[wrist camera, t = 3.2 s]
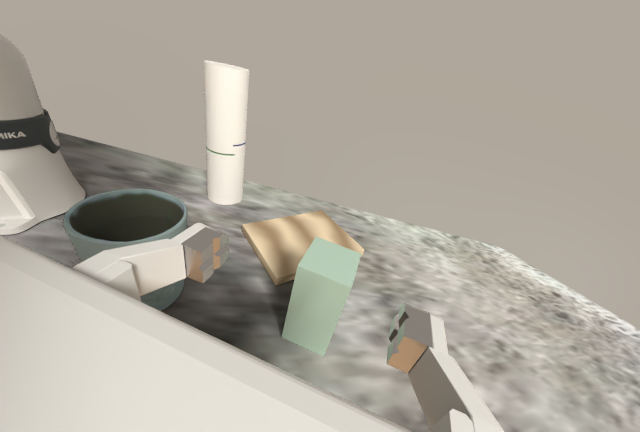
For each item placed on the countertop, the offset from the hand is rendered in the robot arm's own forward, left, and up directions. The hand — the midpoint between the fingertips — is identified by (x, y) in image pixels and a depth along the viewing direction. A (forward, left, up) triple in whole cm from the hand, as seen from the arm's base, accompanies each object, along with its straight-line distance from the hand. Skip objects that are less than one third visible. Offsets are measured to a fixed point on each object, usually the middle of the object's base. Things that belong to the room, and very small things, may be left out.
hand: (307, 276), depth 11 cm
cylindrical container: (+10, +42, -21) cm, 48 cm away
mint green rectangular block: (+10, +7, -21) cm, 24 cm away
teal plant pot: (-6, +21, -21) cm, 31 cm away
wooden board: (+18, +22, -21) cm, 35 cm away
